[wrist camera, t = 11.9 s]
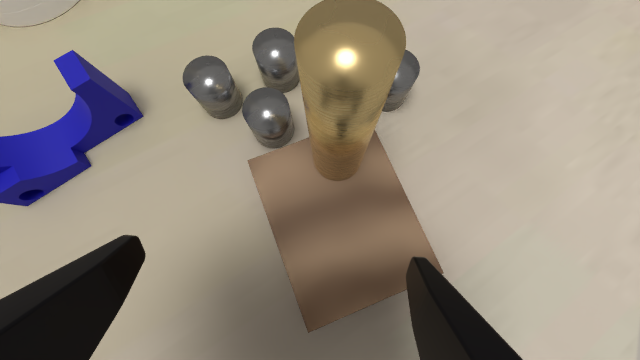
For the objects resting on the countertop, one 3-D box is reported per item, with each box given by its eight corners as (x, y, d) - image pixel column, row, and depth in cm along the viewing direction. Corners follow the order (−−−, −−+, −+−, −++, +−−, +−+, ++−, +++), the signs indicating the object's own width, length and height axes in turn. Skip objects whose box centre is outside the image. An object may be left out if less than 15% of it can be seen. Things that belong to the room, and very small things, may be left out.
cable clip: (29, 206, 23) (-70, 194, 17) (9, 166, 24) (-92, 141, 18) (152, 128, 25) (99, 93, 19) (129, 94, 25) (72, 49, 20)
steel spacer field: (410, 103, 25) (427, 78, 21) (226, 172, 23) (207, 159, 20) (370, 27, 27) (379, -9, 23) (198, 87, 25) (175, 59, 21)
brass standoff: (369, 169, 22) (426, 63, 9) (324, 188, 22) (320, 105, 9) (349, 128, 23) (375, -19, 10) (306, 145, 22) (277, 16, 10)
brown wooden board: (435, 270, 22) (443, 273, 20) (309, 326, 21) (308, 332, 19) (365, 123, 25) (367, 115, 23) (251, 165, 24) (247, 160, 22)
